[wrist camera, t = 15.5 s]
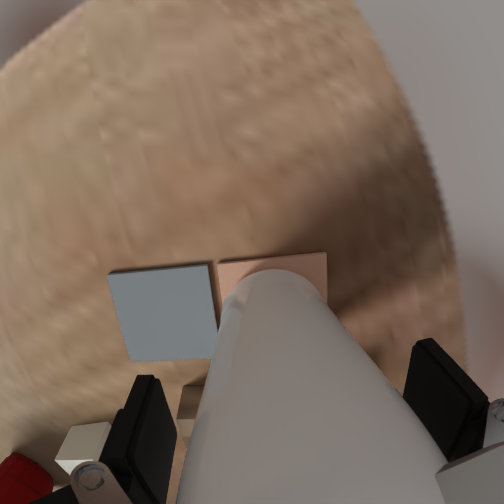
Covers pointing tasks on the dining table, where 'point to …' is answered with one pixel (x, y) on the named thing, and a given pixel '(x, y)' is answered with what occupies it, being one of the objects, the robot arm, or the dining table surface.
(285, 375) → the drinking glass
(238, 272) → the pad
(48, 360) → the dining table surface
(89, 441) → the white cube
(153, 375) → the robot arm
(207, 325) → the pad mid
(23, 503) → the plastic cup
